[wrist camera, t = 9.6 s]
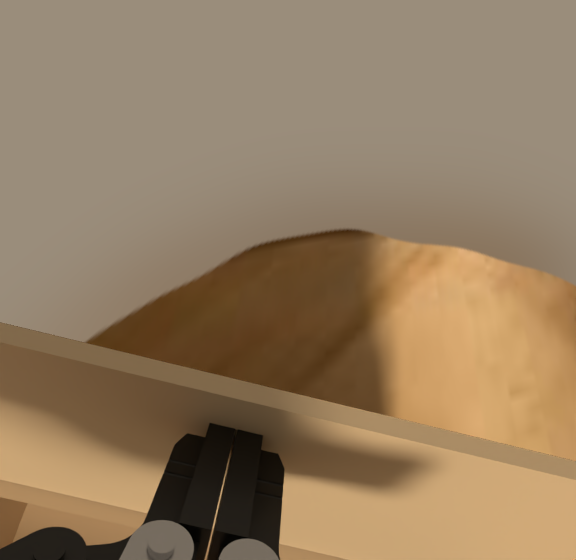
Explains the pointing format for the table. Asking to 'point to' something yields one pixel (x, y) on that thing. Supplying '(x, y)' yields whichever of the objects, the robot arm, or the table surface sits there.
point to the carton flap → (292, 451)
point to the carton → (84, 519)
